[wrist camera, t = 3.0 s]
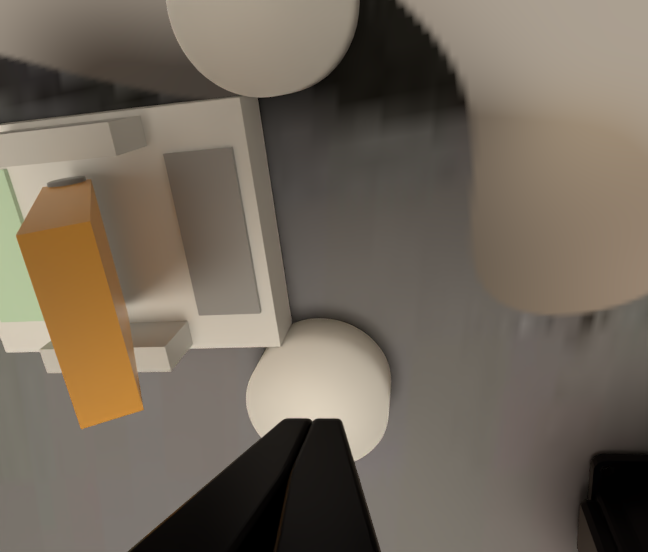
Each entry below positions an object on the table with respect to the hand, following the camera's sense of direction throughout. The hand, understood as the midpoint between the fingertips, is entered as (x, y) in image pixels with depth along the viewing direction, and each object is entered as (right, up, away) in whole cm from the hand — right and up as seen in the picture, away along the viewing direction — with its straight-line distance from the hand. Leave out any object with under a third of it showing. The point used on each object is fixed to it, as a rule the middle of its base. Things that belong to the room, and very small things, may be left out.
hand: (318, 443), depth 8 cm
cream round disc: (-2, +11, +10) cm, 15 cm away
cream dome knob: (0, -2, +15) cm, 15 cm away
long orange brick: (-8, +3, +11) cm, 14 cm away
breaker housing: (-8, +4, +14) cm, 16 cm away
